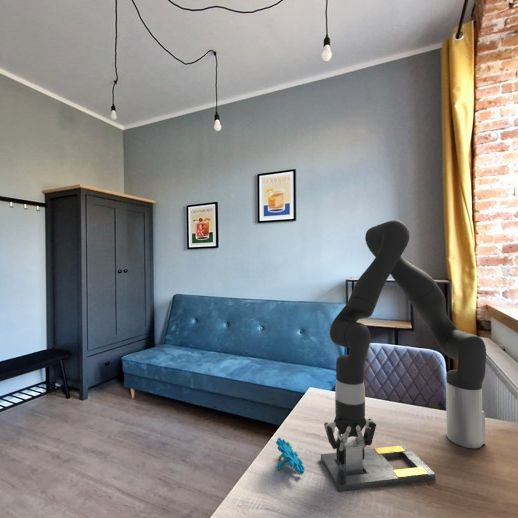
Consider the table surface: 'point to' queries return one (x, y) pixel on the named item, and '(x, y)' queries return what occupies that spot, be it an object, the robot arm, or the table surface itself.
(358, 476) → the fixture plate
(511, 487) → the table surface
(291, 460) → the gear
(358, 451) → the steel block
